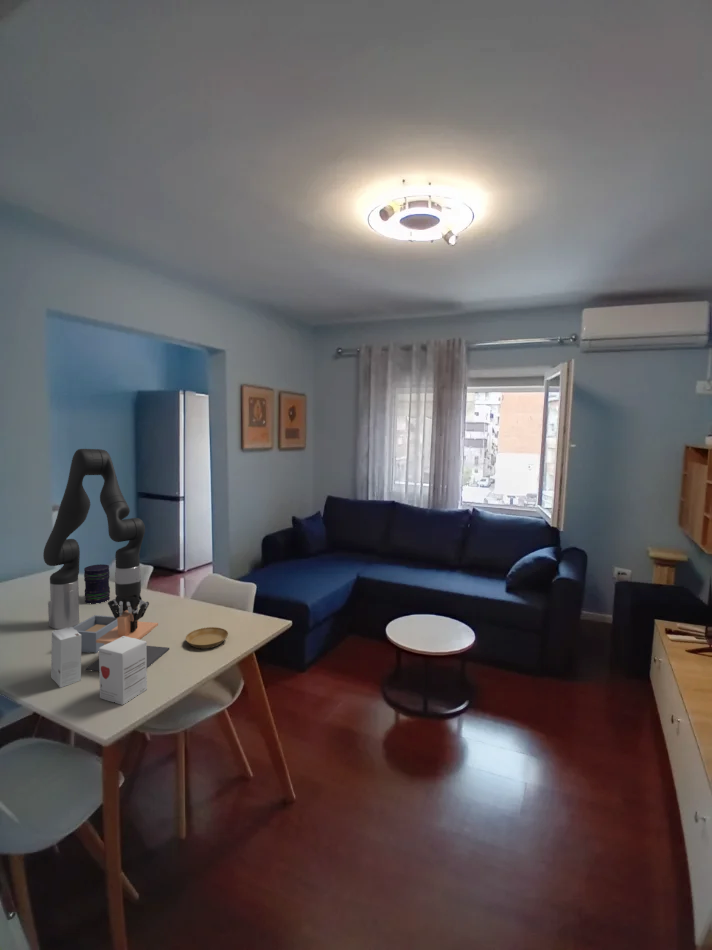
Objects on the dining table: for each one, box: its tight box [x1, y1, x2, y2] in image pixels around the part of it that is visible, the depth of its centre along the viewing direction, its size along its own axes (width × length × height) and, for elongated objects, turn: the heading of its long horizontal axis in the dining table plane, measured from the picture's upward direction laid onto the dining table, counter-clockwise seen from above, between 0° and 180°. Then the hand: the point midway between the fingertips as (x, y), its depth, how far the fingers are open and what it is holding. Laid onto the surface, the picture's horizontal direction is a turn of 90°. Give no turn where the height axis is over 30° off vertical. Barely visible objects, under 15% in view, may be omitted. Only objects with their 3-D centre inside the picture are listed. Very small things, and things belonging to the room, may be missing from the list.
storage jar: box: [83, 563, 111, 605], centre depth 205 cm, size 10×10×15 cm
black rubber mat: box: [85, 645, 170, 672], centre depth 152 cm, size 18×18×1 cm
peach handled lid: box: [96, 612, 159, 645], centre depth 151 cm, size 15×12×8 cm
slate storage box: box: [73, 614, 118, 654], centre depth 164 cm, size 14×11×7 cm
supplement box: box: [98, 636, 148, 706], centre depth 132 cm, size 9×9×15 cm
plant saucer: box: [184, 626, 229, 650], centre depth 167 cm, size 15×15×3 cm
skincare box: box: [50, 626, 82, 688], centre depth 139 cm, size 8×6×15 cm
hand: (129, 630), depth 152 cm, fingers closed on peach handled lid, 2 cm apart
